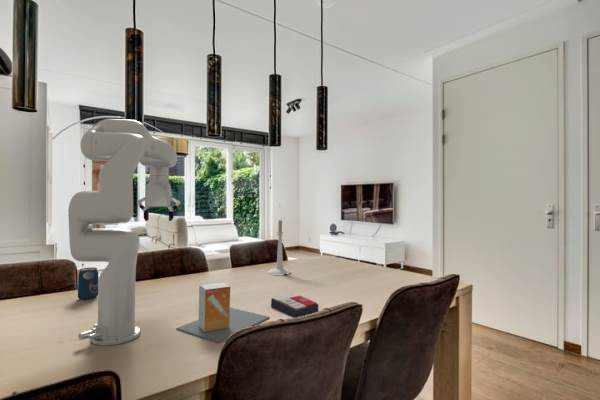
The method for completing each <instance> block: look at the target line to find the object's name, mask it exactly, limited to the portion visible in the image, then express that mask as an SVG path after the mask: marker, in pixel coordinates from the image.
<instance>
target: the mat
mask: <svg viewBox="0 0 600 400" xmlns="http://www.w3.org/2000/svg"><path fill="white" fill-rule="evenodd" d="M269 319H270V316H267V315H263V314H259V313H254V312H250V311H246V310H244V309H243V310H242V309H238V308H234V307H230V319H229V328H223V329H218V330H213V331H208V332H204V331H203V330H202V329H201V328H200V327H199V319H196V320H193V321H191V322H189V323H186V324H184V325H180V326H179V327H176V328H175V330H176V331H179V332H183V333H185V334H188V335H192V336H195V337H198V338H201V339H205V340H207V341H210V342H214V343H217V344H220V343H222V342H224V341H227V340H228V339H229V338H228V337H229V336H230V335H231V334H233V333H235V332H236V331H238V330H241V329H243V328H246V327H249V326H253V325H255V326H256V324H257V325H259V324H260V323H263V322H265V321H267V320H269ZM253 327H254V326H253ZM227 338H228V339H227Z"/></svg>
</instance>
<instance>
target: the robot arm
mask: <svg viewBox="0 0 600 400" xmlns="http://www.w3.org/2000/svg"><path fill="white" fill-rule="evenodd" d="M79 147H80V151H81V153H82V155H83V156H84V157H85V159H88V160H90V161H97V162H106V163H104V165H103V166H102V167H101V169H100V171H99V173H98V190H83V191H78V192H76V193H75V194H73V196H72V197H71V199H70V201H69V205H68V210H67V211H68V214H67V215H68V239H69V250H70V251H69V252H70V255H71V257H72V258H73V259H74V260H75V261H78V262H84V263H85V262H88V263H90V262H92V263H93V262H94V263H95V262H104V263H107V264H106V266H105V268H104V269H103V270H102V271H101V273H100V274H99V275H98V296H97V299H98V300H97V323H95V324H93V327H92V328H90V330H85V331H83V332H82V331H81V332H79V333H78V340H79V341H84V340H86V339H88V340H90V341H91V343H93V345H98V346H114V345H119V344H120V345H121V344H124V343H128V342H130V341H133V340H134V339H136V338H138V337H139V336H140V335H141V327H139V326H137V325H135V323H136V320H135V319H136V316H135V315H136V276H137V275H136V272H137V259H138V253H139V248H140V236H139V234H138V233H137V232H136V231H135V230H132V229H129V228H123V227H122V228H121V227H120V228H119V227H118V228H117V227H115V228H109V227H107V228H106V227H105V228H104V227H103V228H101V227H100V228H94V227H93V226H94V225H123V224H126V223H129V222H130V221H131V220H132V218H133V216H134V215H133V214H134V191H133V190H134V187H133V186H134V185H133V181H134V173H135V171H136V168H137V166H138V165H139V163H140V165H142V166H143V167H148V168H149V176H148V177H145V180H146V181H148V183H146V188H145V196H144V197H142V198H140V199H138V200H137V201H136V203H137V205H138V207H139V208H140V209H141V210H142V212H143V219H144V222H148V221H149V217H150V215H149V213H150V212H149V209H151V208H167V209H168V210H169V212H168V222H172V221H173V220H174V217H175V216H174V215H175V214H174V212H175V211H176V210H177V209H178V208H179V205H180V204H181V201H180V200H178V199H176V198H175V197H173V194H172V193H173V192H172V186H171V184H170V182H169V179H170V177H169V175H170V168H173V167H175V166H176V165H177V162H178V154H177V151H176V150H175V147H174V146H173V145H172V144H171V143H170V142H167V141H166V140H162V139H160V138H157V137H155V136H153V135H152V134H151V132H150V131H149V130H148V129H147V128H146V126H145V125H144V123H142V122H140V121H137V120H135V119H122V118H121V119H120V118H119V119H118V118H105V119H102V120H100V121H98V122H97V123H95V124H94V125H93V126H91V127H90V128H89V129H88V130H87V131H85V133H84V134H83V136H82V137H81V140H80V146H79ZM143 203H144V204H143ZM173 203H175V204H174V205H173ZM172 205H173V206H172Z"/></svg>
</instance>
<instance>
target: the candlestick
mask: <svg viewBox="0 0 600 400" xmlns="http://www.w3.org/2000/svg"><path fill="white" fill-rule="evenodd" d="M277 230H278V231H276V233H277V237H278V241H277V251H276V253H277V254H276V257H277V258H276V267H274V268H272V269H270V270H268V272H267V273H270V274H287V273H290V272H291V270H290V269H287V268H285V267H284V264H283V263H284V262H283V259H284V258H283V238H282V237H283V234H284V231H283V220H282V219H280V220H278V229H277ZM291 273H292V272H291ZM270 274H269V275H270Z"/></svg>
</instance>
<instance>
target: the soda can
mask: <svg viewBox="0 0 600 400" xmlns="http://www.w3.org/2000/svg"><path fill="white" fill-rule="evenodd" d="M98 280H99V270H98V269H97V267H84V268H80V269H79V271H78V274H77V298H78V300H79V301H83V302H85V301H86V302H87V300H88V301H92V300H96V299H97V298H98ZM95 298H96V299H95Z"/></svg>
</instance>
